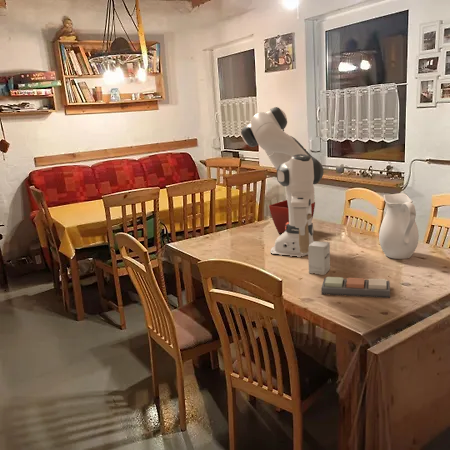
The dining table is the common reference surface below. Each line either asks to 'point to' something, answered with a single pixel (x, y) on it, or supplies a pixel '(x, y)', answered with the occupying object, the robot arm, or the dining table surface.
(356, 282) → the key terracotta
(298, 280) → the dining table surface
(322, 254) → the supplement box
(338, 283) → the key sage
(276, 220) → the plant pot
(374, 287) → the key offwhite
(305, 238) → the handle
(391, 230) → the pitcher
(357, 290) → the keypad
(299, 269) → the dining table surface
